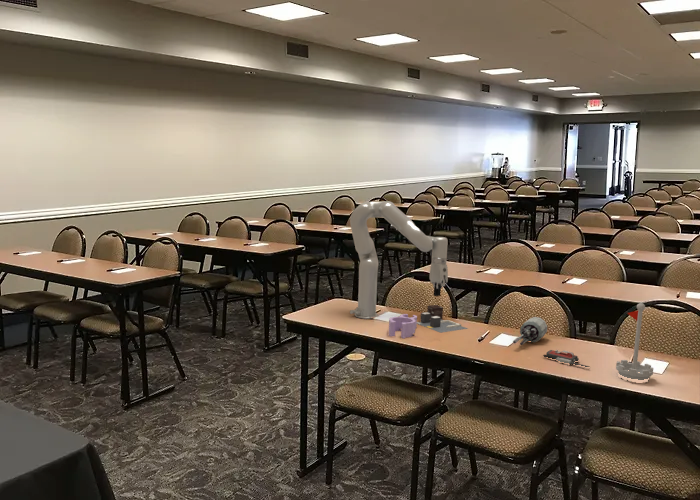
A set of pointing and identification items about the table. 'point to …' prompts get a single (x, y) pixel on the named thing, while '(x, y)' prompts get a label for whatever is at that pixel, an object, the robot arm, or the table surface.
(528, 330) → the device
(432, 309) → the box
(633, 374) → the flag stand
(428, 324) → the panel
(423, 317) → the block
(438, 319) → the breaker
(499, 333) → the table surface
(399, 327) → the clip
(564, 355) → the walkie-talkie
